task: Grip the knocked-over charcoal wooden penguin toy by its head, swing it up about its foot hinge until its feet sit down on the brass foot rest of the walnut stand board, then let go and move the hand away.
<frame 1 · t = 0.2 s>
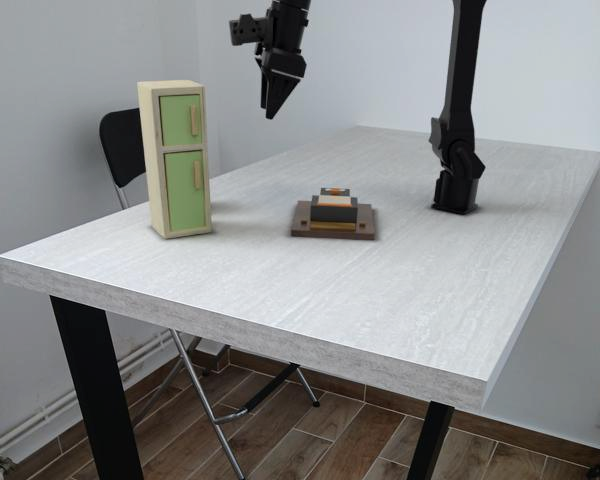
hand: (266, 113, 105), 15 cm above the table, tool pointing down, fingers open, 9 cm apart
toy refrigerator: (182, 232, 101), on the table
penguin: (334, 202, 107), point 3 cm above the table, hinge at 0.0°
stand: (332, 230, 104), on the table
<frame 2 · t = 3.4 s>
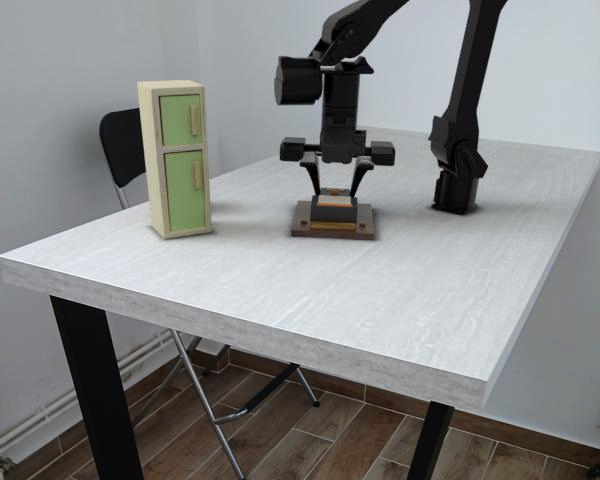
hand: (334, 203, 110), 2 cm above the table, tool pointing down, fingers closed on penguin, 5 cm apart
penguin: (334, 202, 107), point 3 cm above the table, hinge at 0.0°, touching gripper
everything else where it was.
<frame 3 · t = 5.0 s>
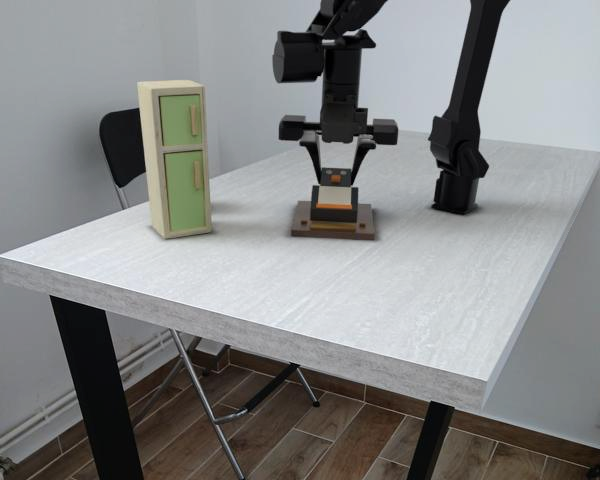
hand: (335, 184, 107), 5 cm above the table, tool pointing down, fingers closed on penguin, 5 cm apart
penguin: (335, 192, 105), point 5 cm above the table, hinge at 21.1°, touching gripper
everything else where it was.
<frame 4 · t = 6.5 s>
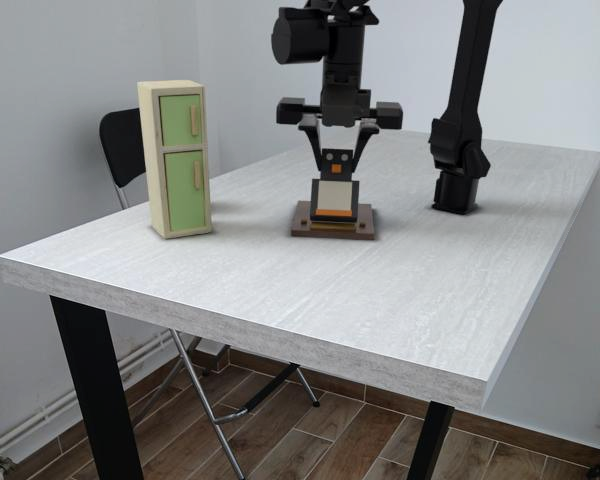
hand: (336, 171, 102), 8 cm above the table, tool pointing down, fingers closed on penguin, 5 cm apart
penguin: (335, 184, 102), point 7 cm above the table, hinge at 53.0°, touching gripper
everything else where it was.
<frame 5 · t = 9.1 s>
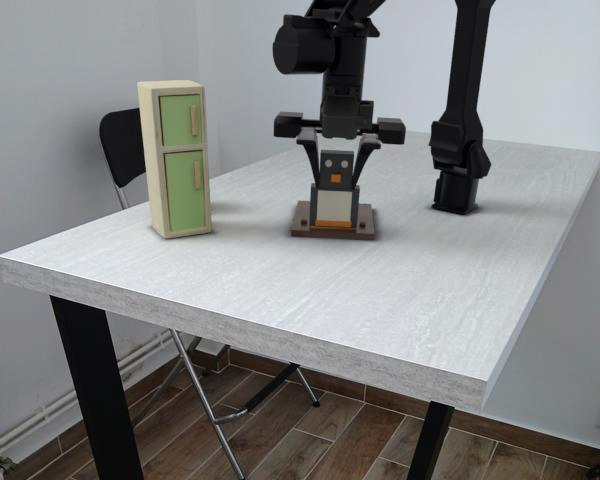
hand: (334, 188, 97), 7 cm above the table, tool pointing down, fingers closed on penguin, 5 cm apart
penguin: (335, 189, 99), point 7 cm above the table, hinge at 90.0°, touching gripper, stand
everything else where it was.
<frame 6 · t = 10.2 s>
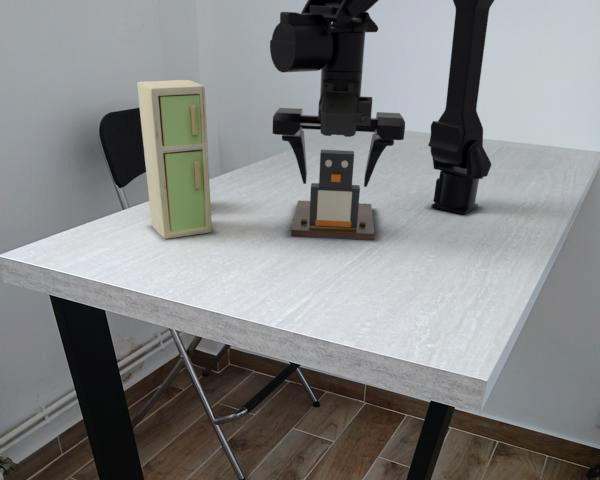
hand: (335, 184, 97), 8 cm above the table, tool pointing down, fingers open, 9 cm apart
penguin: (335, 189, 99), point 7 cm above the table, hinge at 90.0°
everything else where it was.
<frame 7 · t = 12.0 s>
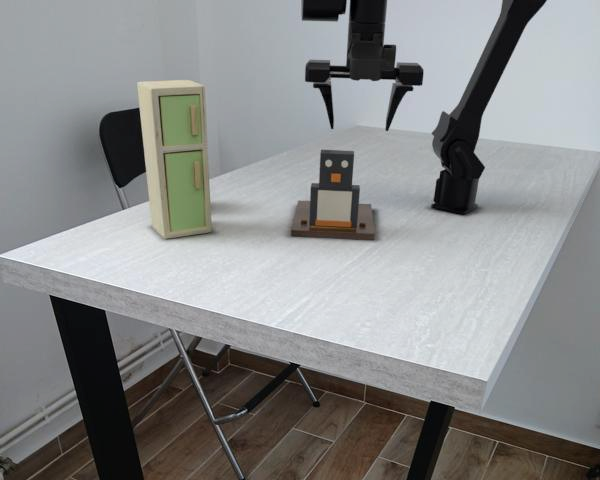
hand: (359, 129, 108), 13 cm above the table, tool pointing down, fingers open, 9 cm apart
nothing on the table moved.
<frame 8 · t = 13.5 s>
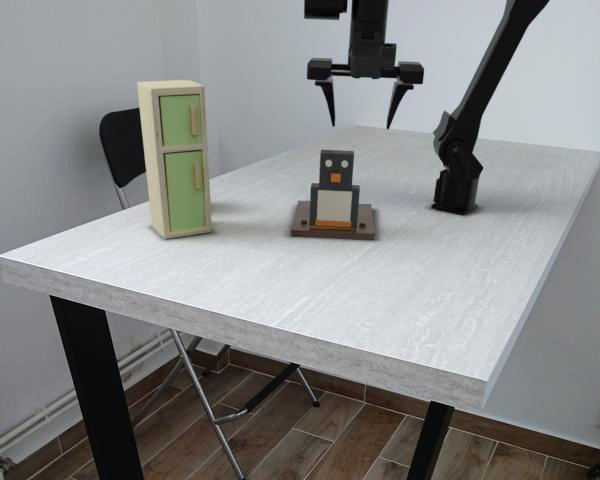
hand: (360, 127, 109), 13 cm above the table, tool pointing down, fingers open, 9 cm apart
nothing on the table moved.
at the end: penguin at +90° (first picture: +0°); the gripper is holding nothing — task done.
